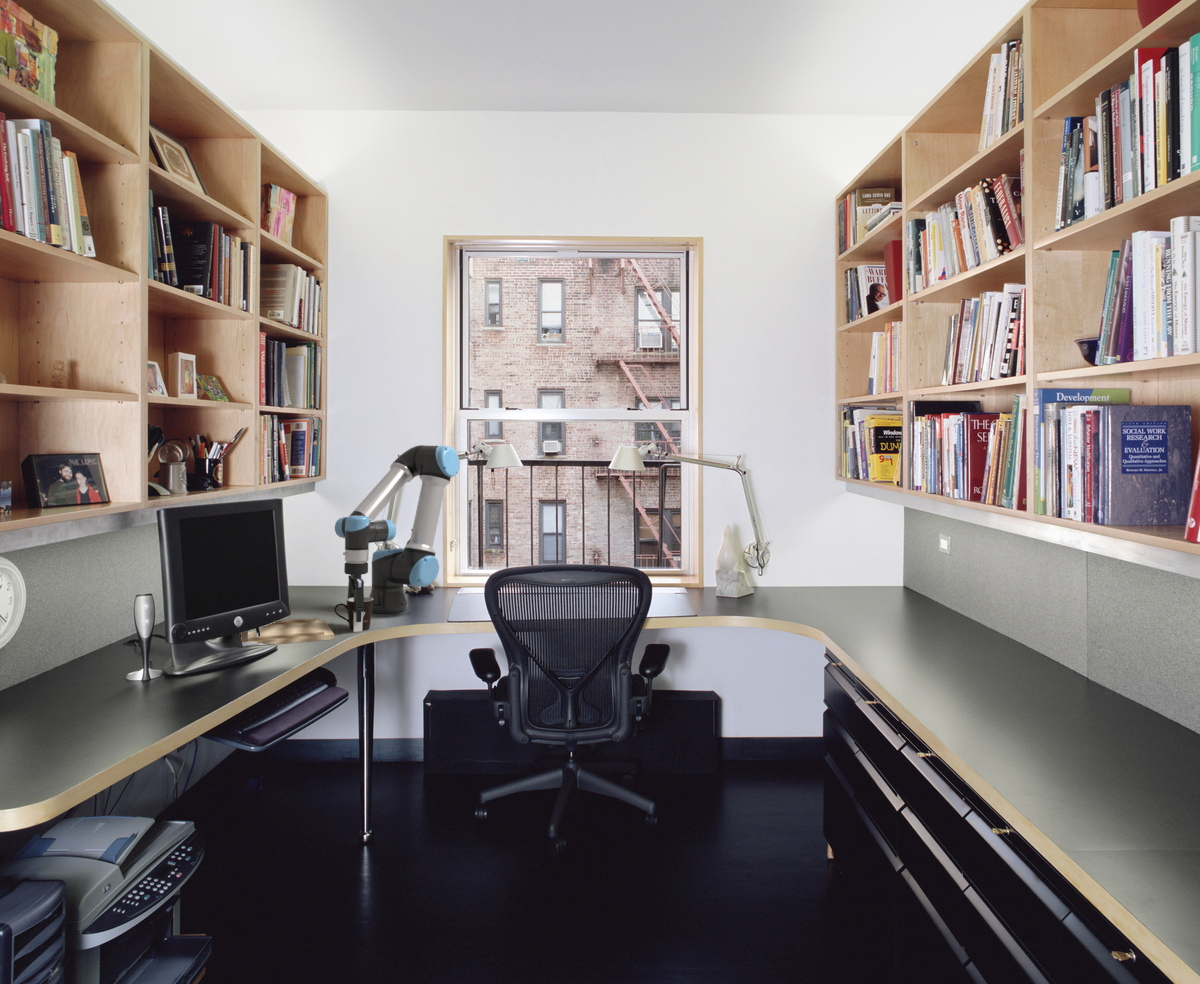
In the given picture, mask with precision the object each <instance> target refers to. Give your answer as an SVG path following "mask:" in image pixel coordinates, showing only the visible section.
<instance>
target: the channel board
mask: <svg viewBox="0 0 1200 984" xmlns="http://www.w3.org/2000/svg"><path fill="white" fill-rule="evenodd" d="M276 621H277V622H275V623H272V624H269V625H267V626H263V627H261V628H260V629H259V630H260V636H259V637H257V636H256V631H252V632H248V631H246V632H242V633H241V637H242V642H257V643H263V644H275V645H283V644H284V645H285V644H295V643H305V642H317V641H318V642H319V641H327V640H335V633H334V632H333V630H332V629H331V627H330V626H329V625H328V624H327V621H326V620H325V619H320V620H316V617H313V618H312V617H311V618H298V619H287V620H286V619H285V620H284V619H283V620H281V619H280V620H276ZM250 634H251V636H250V637H248V635H250Z"/></svg>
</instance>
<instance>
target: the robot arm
mask: <svg viewBox="0 0 1200 984" xmlns="http://www.w3.org/2000/svg"><path fill="white" fill-rule="evenodd" d="M460 465H461V463H460V458H459V455H458V452H457V451H456V450H455V449H454V448H453V447H452V446H448V445H441V444H439V445H419V444H418V445H415V446H413V447H410V448H409V449H407V450H406V451H404V452H403V453H401V454H400V455H399V456H398V457H397V458H396V459H395V460H394V461H393V462H392V463H391V465H390V467H389V469H390V470H389V471H388V472H387V473H386V474H385V475H384V476H383V477H382V478H381V480H380V481H379V482H378V483H377V484H376V485H375V486H374V487H373V488H372V490H371V491H370V492H369V493H368V494H367V495H366V496H365V498H364V499H363V500H362V501H361V502H360V503H359V504H358V506H357V507H355V509H354V510H353V511H352V512H351V513H350V514H349V516H344V517H340V518H338V519H337V520H336V521H335V525H334V533H335V534H336V535H337V536H338V537H339V538H343V539H344V551H345V552H342V555H343V556H344V561H345V563H344V567H343V568H344V571H343V573H344V574H345V575H348V576H347V577H348V585H347V587H348V589H347V599H349V598H354V608H355V610H353V611H352V612H353V613H354V626H353V631H352V632H354V633H359V632H363V631H362V622H363V611H364V597H365V594H364V593H365V592H364V591H365V589H364V587H365V581H364V579H362V575H365V574H366V575H367V574H368V573H369V563H368V561H369V547H370V546H369V544H371V543H381V542H384V543H386V542H389V541H392V540H393V539H394V538H395V537H396V534H397V527H396V525H395V523H394V522H393V520H390V519H379V520H378V519H376V518H377V517H378V516H379V514H380V513H381V512H382V511H383V510H384V509H385V507H386V506H388V504H389V503H390V502H391V501H392V499H393V498H394V497H395V496H396V494H398V492H400V490H401V489H402V487H404V485H405V484H406V483H410V482H411V481H412V480H414V478H416V477H419V479H420V480H421V486H420V492H419V497H418V502H417V506H416V510H415V516H414V521H413V524H412V530H411V535H410V539H409V543H408V544H407V545H405V546H404V548H391V549H381V550H376V551H374V552H373V553H372V557H371V558H372V559H371V590H370V594H369V596H368V597H370V598H373V599H374V600H373V607H372V613H377V614H390V613H391V614H392V613H393V614H394V613H400V612H405V611H407V610H408V608H409V606H408V604H409V602H408V600H407V596H406V594H405V590H404V586H411V587H417V588H419V587H421V588H422V587H423V588H424V587H427V586H430V585H431V584H432V583H433V582H435V580H436V579H437V577H438V575H439V571H440V564H439V560H438V558H437V557H436V551H435V550H434V548H433V546H434V542H435V536H436V531H437V527H438V522H439V517H440V512H441V507H442V502H443V499H444V498H443V497H444V493H445V490H446V489H445V487H446V486H448V485H449V484H450V483H451V478H454V477H456V476H457V474H458V473H459V471H460V467H461V466H460ZM358 607H361V608H358ZM347 619H348V618H347ZM348 620H349V619H348ZM347 626H349V623H348V622H347Z"/></svg>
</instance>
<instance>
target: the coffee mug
mask: <svg viewBox="0 0 1200 984" xmlns="http://www.w3.org/2000/svg"><path fill="white" fill-rule="evenodd" d="M373 600H374V599H373V598H370V597H369V596H364V611H363V622H362V631H361V632H364V631H368V630H370V627H371V621H372V615H373V614H372V613H373V612H372V607H373ZM339 606H343V607H344V608H345V610H346V611H347V618H346V617H344V616H342V615H341V614H339V613H338V611H337V608H338V607H339ZM358 608H361V607H358ZM353 610H355V608H354V598H349V599H348V598H346V604H345V603H338V604H336V605H335V606H334V613H335V614H336V615H337V616H338V617H339V618H341V619H343V620H345V621H346V622H347V624H348V623H349V625H348V628H349V631H352V632H353V626H354V613H353V612H352V611H353ZM348 619H349V620H348Z"/></svg>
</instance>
